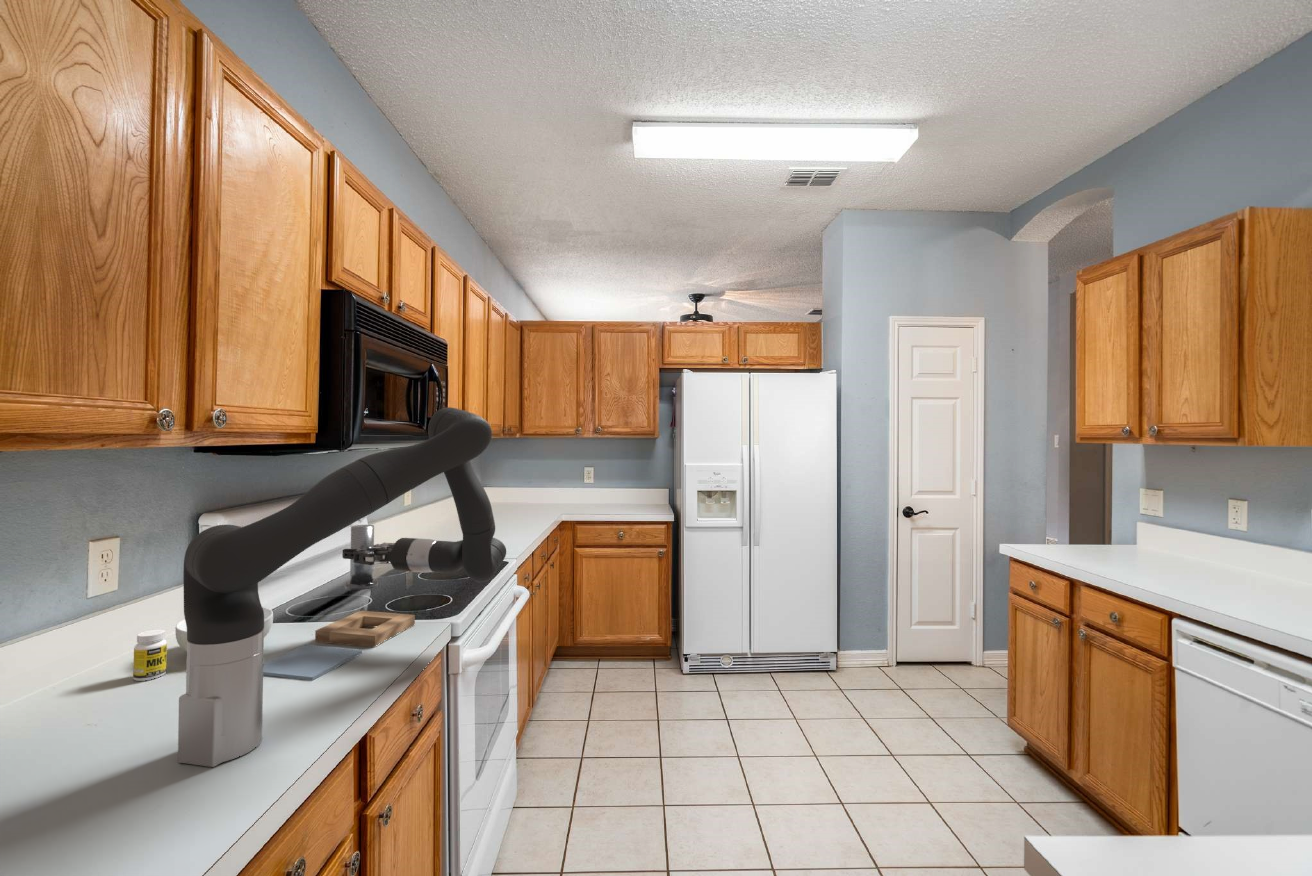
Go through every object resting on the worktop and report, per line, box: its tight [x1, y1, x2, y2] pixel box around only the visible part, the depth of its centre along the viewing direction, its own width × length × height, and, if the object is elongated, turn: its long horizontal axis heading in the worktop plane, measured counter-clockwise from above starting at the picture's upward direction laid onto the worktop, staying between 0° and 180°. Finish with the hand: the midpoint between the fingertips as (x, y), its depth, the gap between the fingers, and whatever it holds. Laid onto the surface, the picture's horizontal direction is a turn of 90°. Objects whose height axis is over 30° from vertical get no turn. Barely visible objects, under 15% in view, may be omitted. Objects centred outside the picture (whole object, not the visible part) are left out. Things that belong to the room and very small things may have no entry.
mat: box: [263, 644, 363, 681], centre depth 117 cm, size 14×14×1 cm
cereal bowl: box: [175, 606, 274, 652], centre depth 122 cm, size 17×17×7 cm
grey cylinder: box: [344, 524, 379, 591], centre depth 132 cm, size 7×7×14 cm
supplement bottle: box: [132, 629, 168, 682], centre depth 109 cm, size 5×5×8 cm
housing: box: [314, 610, 416, 647], centre depth 134 cm, size 15×15×2 cm
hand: (351, 551), depth 133 cm, fingers closed on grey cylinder, 4 cm apart
